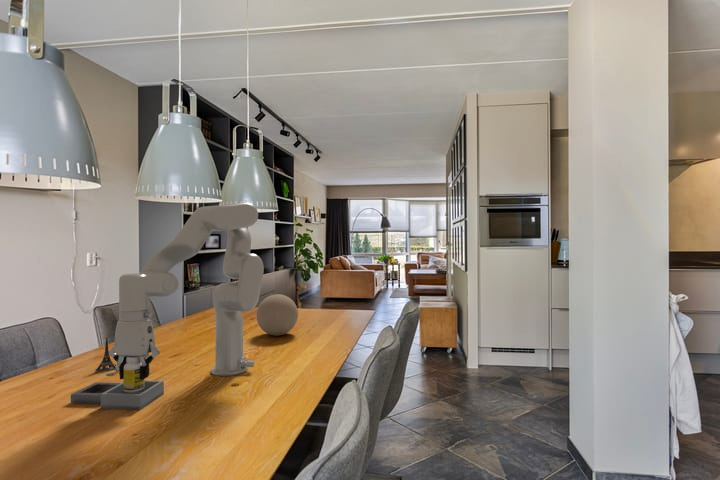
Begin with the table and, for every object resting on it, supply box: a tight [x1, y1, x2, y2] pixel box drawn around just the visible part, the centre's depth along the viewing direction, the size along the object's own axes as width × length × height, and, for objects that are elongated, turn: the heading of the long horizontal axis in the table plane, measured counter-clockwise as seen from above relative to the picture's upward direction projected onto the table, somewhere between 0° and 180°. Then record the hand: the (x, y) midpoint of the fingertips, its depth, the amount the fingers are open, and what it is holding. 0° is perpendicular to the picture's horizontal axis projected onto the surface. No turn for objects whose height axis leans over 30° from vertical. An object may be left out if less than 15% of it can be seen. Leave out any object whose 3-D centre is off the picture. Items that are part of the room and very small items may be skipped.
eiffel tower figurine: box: [95, 336, 119, 377], centre depth 148 cm, size 15×10×13 cm
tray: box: [100, 379, 165, 411], centre depth 119 cm, size 12×12×4 cm
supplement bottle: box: [123, 356, 146, 392], centre depth 119 cm, size 5×5×10 cm
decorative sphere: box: [256, 293, 299, 337], centre depth 201 cm, size 20×20×20 cm
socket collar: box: [70, 381, 122, 405], centre depth 122 cm, size 10×10×2 cm
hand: (134, 377), depth 119 cm, fingers closed on supplement bottle, 5 cm apart
